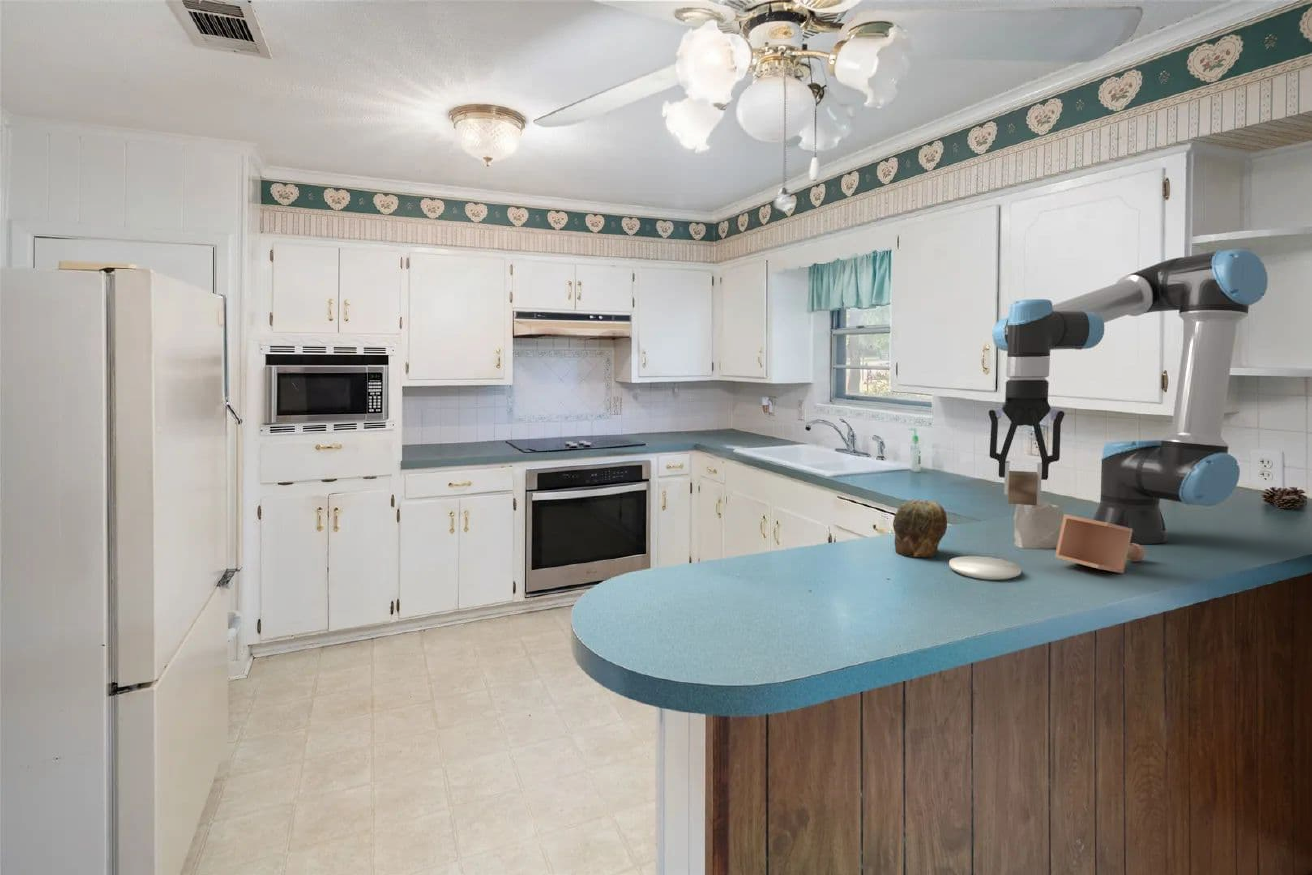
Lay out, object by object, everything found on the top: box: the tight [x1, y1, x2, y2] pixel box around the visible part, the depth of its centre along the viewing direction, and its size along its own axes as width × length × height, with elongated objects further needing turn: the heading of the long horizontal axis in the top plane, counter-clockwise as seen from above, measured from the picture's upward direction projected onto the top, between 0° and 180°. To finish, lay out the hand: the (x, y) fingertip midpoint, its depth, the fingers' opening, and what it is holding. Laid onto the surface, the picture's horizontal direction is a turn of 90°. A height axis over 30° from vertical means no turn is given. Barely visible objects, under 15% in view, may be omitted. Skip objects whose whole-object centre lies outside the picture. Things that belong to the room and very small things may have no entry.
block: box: [1007, 470, 1038, 505], centre depth 140 cm, size 5×5×6 cm
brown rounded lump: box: [892, 499, 948, 558], centre depth 153 cm, size 11×11×12 cm
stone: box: [1013, 497, 1064, 550], centre depth 158 cm, size 10×5×12 cm, turn 80°
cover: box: [1054, 513, 1146, 574], centre depth 142 cm, size 9×9×19 cm
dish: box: [948, 555, 1022, 581], centre depth 139 cm, size 13×13×1 cm
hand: (1022, 494), depth 140 cm, fingers closed on block, 5 cm apart
